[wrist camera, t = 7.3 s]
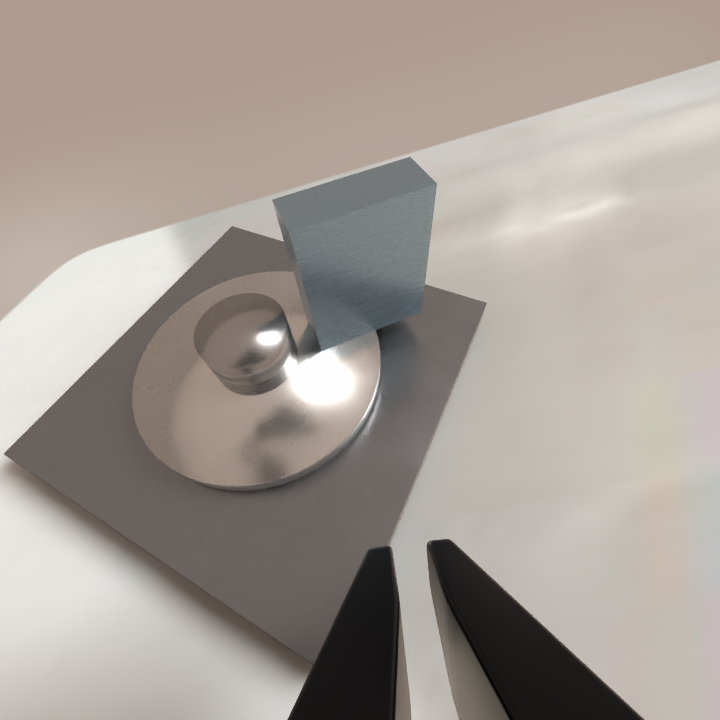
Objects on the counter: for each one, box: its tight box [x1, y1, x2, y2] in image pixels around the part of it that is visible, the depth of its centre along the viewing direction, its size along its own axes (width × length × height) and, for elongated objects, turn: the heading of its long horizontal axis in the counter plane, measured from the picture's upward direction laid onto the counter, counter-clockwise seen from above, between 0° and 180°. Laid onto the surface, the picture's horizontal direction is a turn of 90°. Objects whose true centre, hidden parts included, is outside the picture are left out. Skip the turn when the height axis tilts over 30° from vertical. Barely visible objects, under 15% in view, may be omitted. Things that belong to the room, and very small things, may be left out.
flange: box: [132, 157, 437, 491], centre depth 16 cm, size 14×12×8 cm
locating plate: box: [4, 226, 487, 665], centre depth 18 cm, size 18×18×6 cm
